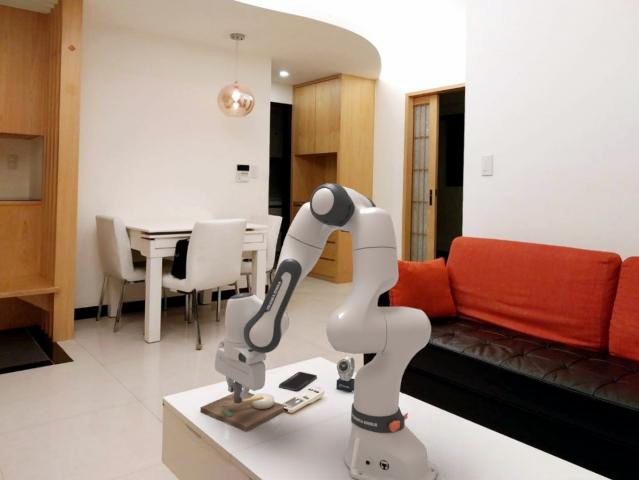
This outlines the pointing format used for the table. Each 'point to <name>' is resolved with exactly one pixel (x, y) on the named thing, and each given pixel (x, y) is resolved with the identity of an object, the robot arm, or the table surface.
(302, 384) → the phone
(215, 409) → the gauge panel
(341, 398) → the table surface
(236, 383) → the dial knob with pointer
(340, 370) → the watch
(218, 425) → the table surface
